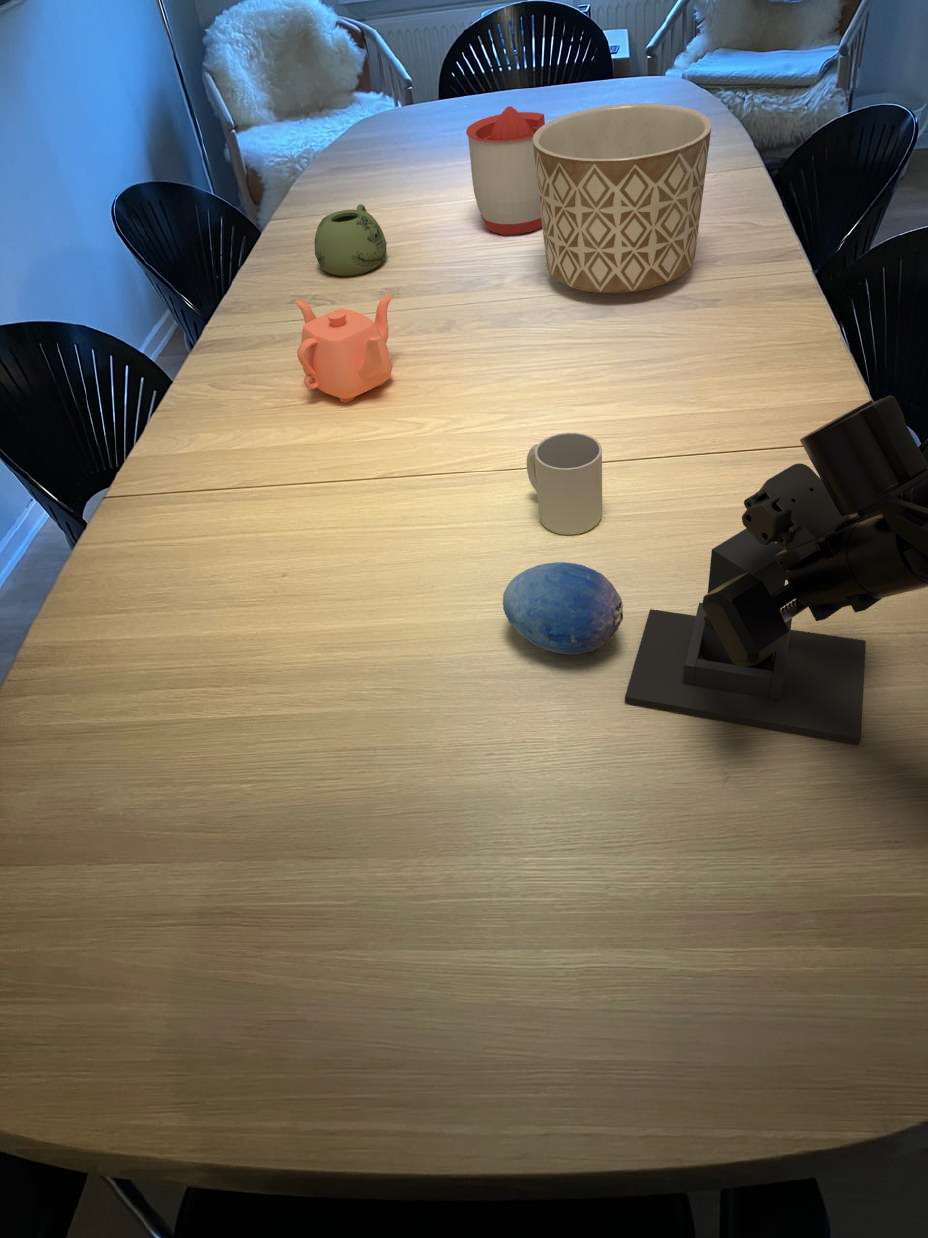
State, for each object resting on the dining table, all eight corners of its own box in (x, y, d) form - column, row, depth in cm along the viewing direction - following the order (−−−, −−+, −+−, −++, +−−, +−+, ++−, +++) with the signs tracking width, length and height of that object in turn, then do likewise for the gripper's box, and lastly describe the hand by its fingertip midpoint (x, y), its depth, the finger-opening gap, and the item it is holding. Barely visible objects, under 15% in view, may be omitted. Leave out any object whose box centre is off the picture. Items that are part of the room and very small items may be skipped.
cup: (572, 544, 102) (569, 477, 96) (509, 509, 108) (503, 444, 102) (615, 514, 105) (615, 447, 99) (552, 482, 111) (549, 417, 105)
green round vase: (376, 280, 160) (367, 229, 154) (307, 279, 164) (296, 230, 158) (403, 243, 171) (396, 194, 165) (338, 243, 175) (329, 196, 169)
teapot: (311, 364, 140) (295, 294, 132) (404, 358, 138) (392, 287, 131) (293, 414, 129) (273, 341, 122) (393, 408, 128) (379, 334, 120)
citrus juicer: (580, 227, 168) (578, 105, 154) (489, 247, 165) (479, 126, 152) (550, 200, 179) (546, 85, 165) (465, 219, 177) (453, 103, 163)
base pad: (864, 647, 86) (871, 620, 84) (858, 745, 78) (866, 718, 76) (649, 616, 92) (650, 589, 90) (624, 703, 84) (625, 677, 82)
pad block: (772, 660, 85) (791, 550, 76) (737, 683, 83) (753, 574, 74) (734, 634, 88) (748, 526, 79) (701, 657, 86) (711, 549, 77)
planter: (645, 230, 163) (648, 92, 148) (734, 280, 145) (749, 128, 130) (513, 269, 157) (503, 129, 142) (589, 326, 139) (587, 173, 124)
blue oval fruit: (646, 595, 80) (490, 564, 86) (634, 686, 83) (484, 650, 89) (672, 570, 87) (527, 543, 93) (661, 654, 90) (521, 623, 96)
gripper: (907, 409, 69) (774, 472, 84) (732, 513, 62) (619, 562, 77) (978, 539, 69) (832, 580, 84) (810, 657, 62) (684, 679, 77)
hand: (744, 596), depth 80 cm, fingers open, 9 cm apart
